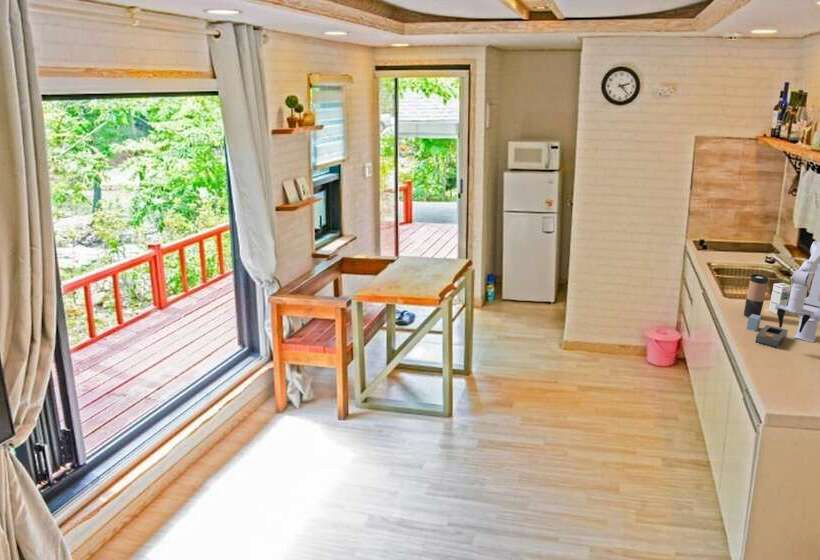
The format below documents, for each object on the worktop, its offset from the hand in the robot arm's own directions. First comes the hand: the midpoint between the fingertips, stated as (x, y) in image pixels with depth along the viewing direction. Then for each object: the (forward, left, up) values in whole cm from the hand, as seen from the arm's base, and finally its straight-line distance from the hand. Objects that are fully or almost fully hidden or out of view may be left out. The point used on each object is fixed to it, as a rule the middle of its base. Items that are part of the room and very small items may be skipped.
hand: (790, 329), depth 307 cm
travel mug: (-38, -23, -10) cm, 46 cm away
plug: (-19, -18, -10) cm, 28 cm away
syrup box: (-54, -15, -10) cm, 57 cm away
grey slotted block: (-9, -8, -10) cm, 16 cm away
